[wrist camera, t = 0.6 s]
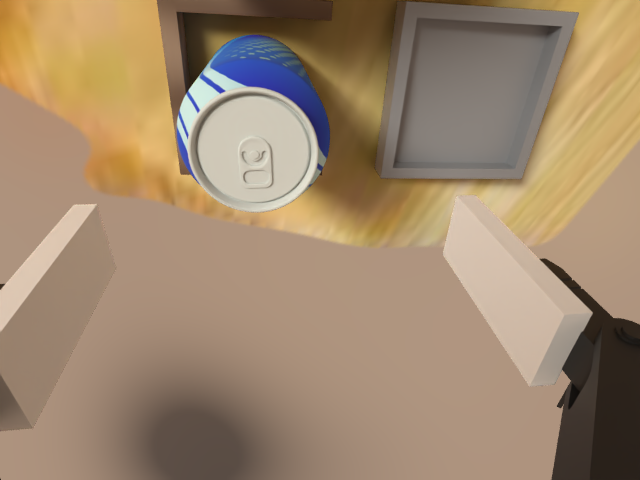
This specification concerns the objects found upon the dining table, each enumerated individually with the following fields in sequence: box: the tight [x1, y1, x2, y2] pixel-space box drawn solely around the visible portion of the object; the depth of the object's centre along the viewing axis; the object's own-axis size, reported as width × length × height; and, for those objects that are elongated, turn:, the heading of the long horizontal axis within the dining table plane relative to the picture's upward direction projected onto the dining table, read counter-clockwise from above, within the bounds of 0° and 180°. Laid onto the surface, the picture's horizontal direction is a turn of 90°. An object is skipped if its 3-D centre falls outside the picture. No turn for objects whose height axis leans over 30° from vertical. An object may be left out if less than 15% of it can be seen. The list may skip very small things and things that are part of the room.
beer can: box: [177, 35, 330, 212], centre depth 27 cm, size 8×8×16 cm
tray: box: [375, 1, 579, 179], centre depth 35 cm, size 14×14×2 cm
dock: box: [157, 0, 333, 175], centre depth 33 cm, size 13×12×2 cm
